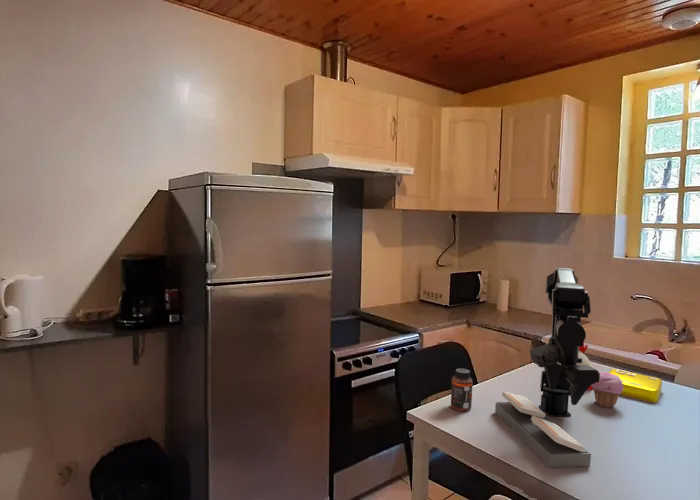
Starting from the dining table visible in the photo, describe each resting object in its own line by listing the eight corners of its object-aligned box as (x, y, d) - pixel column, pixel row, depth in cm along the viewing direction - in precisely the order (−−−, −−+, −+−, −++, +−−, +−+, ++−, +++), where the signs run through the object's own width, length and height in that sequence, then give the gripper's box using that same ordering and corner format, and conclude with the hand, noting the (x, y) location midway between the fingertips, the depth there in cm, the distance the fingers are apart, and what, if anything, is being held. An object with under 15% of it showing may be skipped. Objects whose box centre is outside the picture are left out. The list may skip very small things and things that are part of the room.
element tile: (602, 391, 146) (603, 377, 146) (610, 379, 158) (611, 366, 157) (656, 405, 137) (657, 390, 136) (661, 391, 148) (662, 377, 148)
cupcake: (586, 397, 140) (588, 366, 139) (616, 400, 138) (618, 370, 137) (593, 408, 132) (595, 376, 131) (625, 412, 129) (628, 380, 128)
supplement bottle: (472, 413, 126) (474, 375, 125) (450, 410, 127) (452, 373, 126) (470, 404, 132) (472, 368, 131) (450, 402, 133) (452, 366, 132)
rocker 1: (523, 400, 127) (524, 396, 127) (544, 418, 116) (545, 413, 116) (501, 395, 126) (503, 390, 126) (520, 412, 115) (522, 407, 115)
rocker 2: (554, 428, 111) (556, 424, 111) (581, 451, 101) (583, 446, 100) (530, 419, 110) (532, 414, 110) (555, 442, 100) (557, 436, 100)
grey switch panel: (527, 411, 128) (528, 400, 128) (590, 466, 100) (591, 451, 100) (495, 412, 127) (495, 400, 127) (548, 467, 99) (549, 453, 99)
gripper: (517, 326, 117) (514, 383, 118) (557, 347, 98) (553, 414, 100) (556, 326, 118) (553, 382, 119) (603, 347, 100) (598, 413, 101)
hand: (562, 396), depth 110 cm, fingers open, 9 cm apart
